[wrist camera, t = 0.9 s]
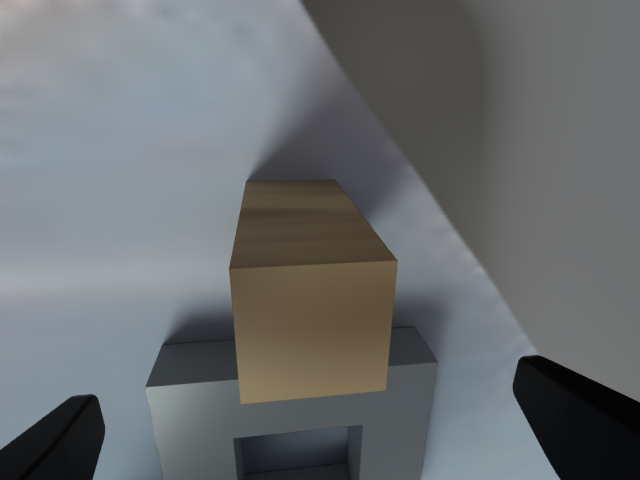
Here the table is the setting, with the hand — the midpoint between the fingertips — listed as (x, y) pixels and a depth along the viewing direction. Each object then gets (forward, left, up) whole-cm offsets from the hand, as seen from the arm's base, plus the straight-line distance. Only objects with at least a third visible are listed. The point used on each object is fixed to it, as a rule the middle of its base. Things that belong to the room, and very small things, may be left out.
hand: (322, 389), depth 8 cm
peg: (0, 0, -11) cm, 11 cm away
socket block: (-13, 0, -11) cm, 17 cm away
